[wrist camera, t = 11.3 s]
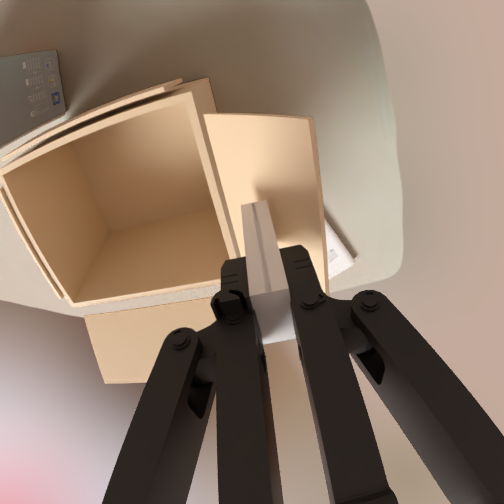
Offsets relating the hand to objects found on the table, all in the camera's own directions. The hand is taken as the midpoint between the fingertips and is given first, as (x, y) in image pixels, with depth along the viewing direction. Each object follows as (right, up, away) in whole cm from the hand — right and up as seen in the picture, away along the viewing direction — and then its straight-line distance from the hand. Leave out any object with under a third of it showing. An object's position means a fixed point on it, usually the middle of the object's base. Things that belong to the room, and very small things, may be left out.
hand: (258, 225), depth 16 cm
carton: (-11, +8, +14) cm, 19 cm away
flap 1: (-8, -9, +8) cm, 15 cm away
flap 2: (0, 0, 0) cm, 1 cm away
